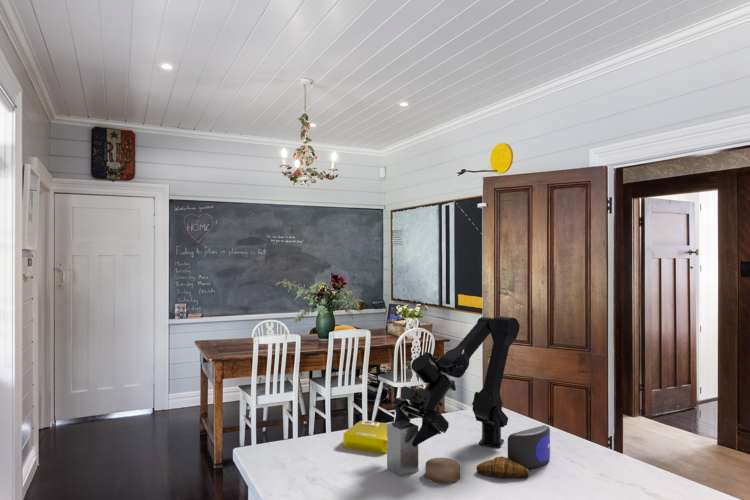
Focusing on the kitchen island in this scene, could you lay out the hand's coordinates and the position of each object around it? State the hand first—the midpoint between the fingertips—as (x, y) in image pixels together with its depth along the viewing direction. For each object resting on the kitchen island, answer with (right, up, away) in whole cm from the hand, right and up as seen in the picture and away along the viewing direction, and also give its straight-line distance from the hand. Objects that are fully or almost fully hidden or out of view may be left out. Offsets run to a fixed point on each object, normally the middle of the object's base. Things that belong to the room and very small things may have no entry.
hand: (402, 440), depth 136 cm
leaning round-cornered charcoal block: (+35, -8, +4) cm, 37 cm away
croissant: (+26, -8, -3) cm, 28 cm away
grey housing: (0, -8, 0) cm, 8 cm away
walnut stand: (+10, -8, -4) cm, 14 cm away
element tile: (-8, -9, +20) cm, 24 cm away
